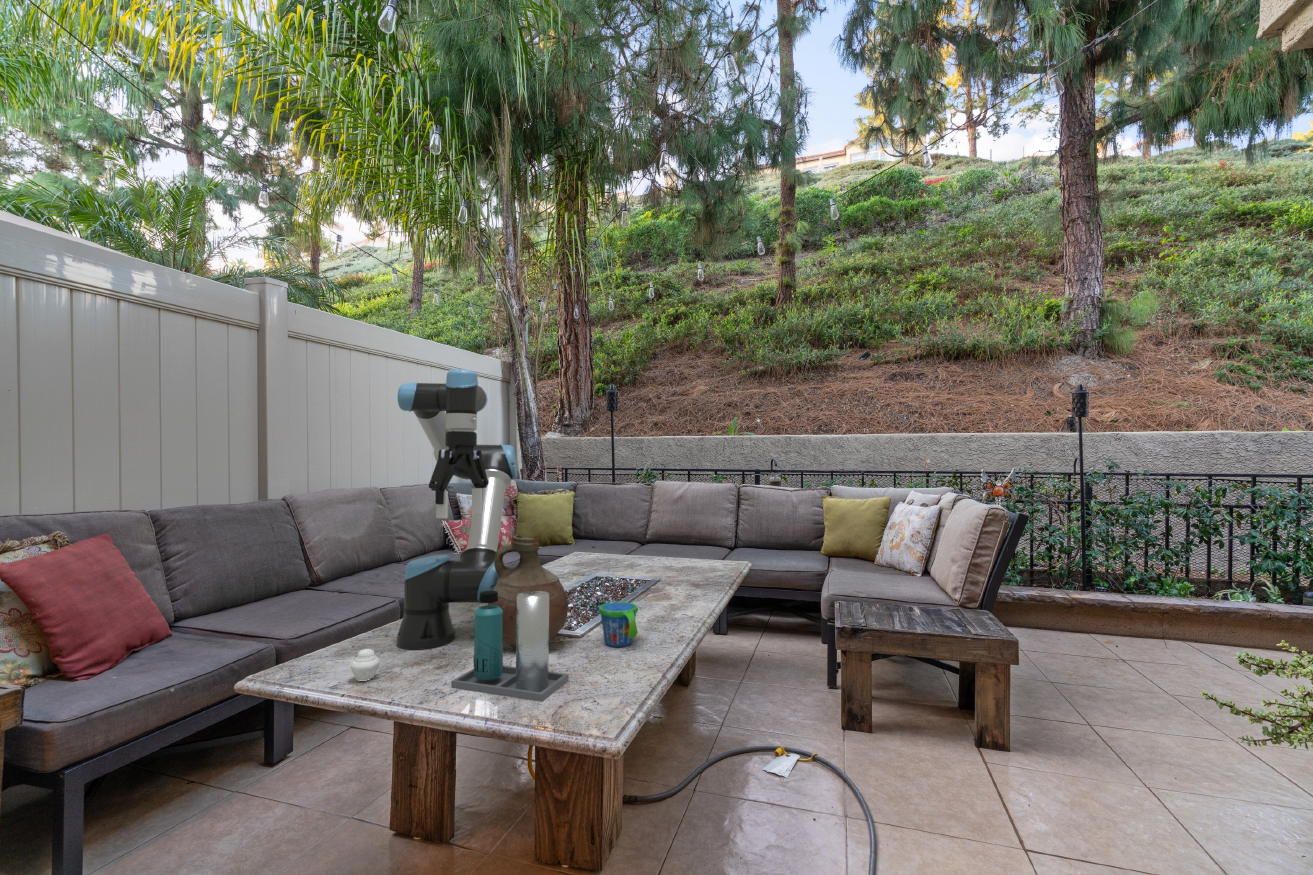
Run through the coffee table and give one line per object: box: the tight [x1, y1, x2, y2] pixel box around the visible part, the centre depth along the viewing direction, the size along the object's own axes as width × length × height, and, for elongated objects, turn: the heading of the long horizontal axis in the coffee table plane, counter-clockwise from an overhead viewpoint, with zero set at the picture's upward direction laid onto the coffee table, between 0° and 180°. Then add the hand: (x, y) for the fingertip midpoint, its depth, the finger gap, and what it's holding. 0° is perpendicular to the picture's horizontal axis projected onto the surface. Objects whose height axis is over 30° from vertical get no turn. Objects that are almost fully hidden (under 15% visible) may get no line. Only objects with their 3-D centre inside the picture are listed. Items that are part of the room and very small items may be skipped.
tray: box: [450, 665, 569, 702], centre depth 124 cm, size 12×22×2 cm, turn 72°
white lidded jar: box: [349, 648, 381, 681], centre depth 130 cm, size 6×6×7 cm
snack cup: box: [598, 601, 639, 648], centre depth 155 cm, size 16×10×10 cm
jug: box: [487, 534, 569, 650], centre depth 153 cm, size 22×22×30 cm
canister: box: [515, 591, 550, 692], centre depth 123 cm, size 7×7×20 cm
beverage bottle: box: [472, 591, 504, 680], centre depth 126 cm, size 6×7×20 cm
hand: (460, 515), depth 141 cm, fingers open, 13 cm apart
